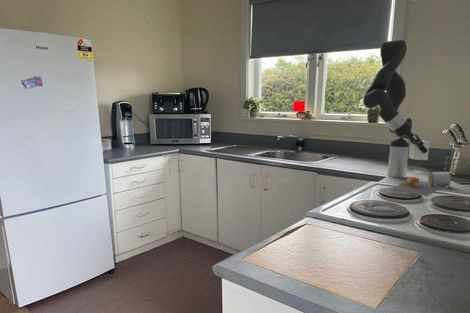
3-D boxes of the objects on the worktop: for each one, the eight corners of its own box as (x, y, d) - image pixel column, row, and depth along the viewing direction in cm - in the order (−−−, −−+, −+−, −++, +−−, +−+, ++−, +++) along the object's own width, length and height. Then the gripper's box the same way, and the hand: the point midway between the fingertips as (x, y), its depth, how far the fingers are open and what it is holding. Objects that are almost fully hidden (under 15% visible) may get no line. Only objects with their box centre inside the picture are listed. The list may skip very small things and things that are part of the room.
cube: (409, 186, 159) (410, 178, 158) (406, 184, 162) (407, 176, 162) (418, 187, 158) (419, 178, 158) (414, 185, 162) (415, 177, 161)
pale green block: (413, 159, 150) (415, 140, 149) (408, 157, 156) (410, 139, 155) (427, 160, 149) (429, 141, 148) (421, 158, 155) (423, 140, 154)
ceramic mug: (426, 184, 167) (428, 169, 166) (444, 185, 165) (446, 170, 164) (433, 189, 157) (435, 174, 155) (452, 191, 155) (454, 175, 153)
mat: (405, 183, 167) (405, 182, 167) (440, 189, 156) (440, 188, 156) (389, 189, 154) (389, 188, 154) (426, 197, 142) (426, 195, 142)
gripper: (411, 119, 144) (436, 147, 144) (399, 118, 158) (422, 144, 158) (397, 131, 145) (422, 158, 145) (386, 129, 159) (409, 154, 160)
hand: (422, 151), depth 152 cm, fingers closed on pale green block, 6 cm apart
